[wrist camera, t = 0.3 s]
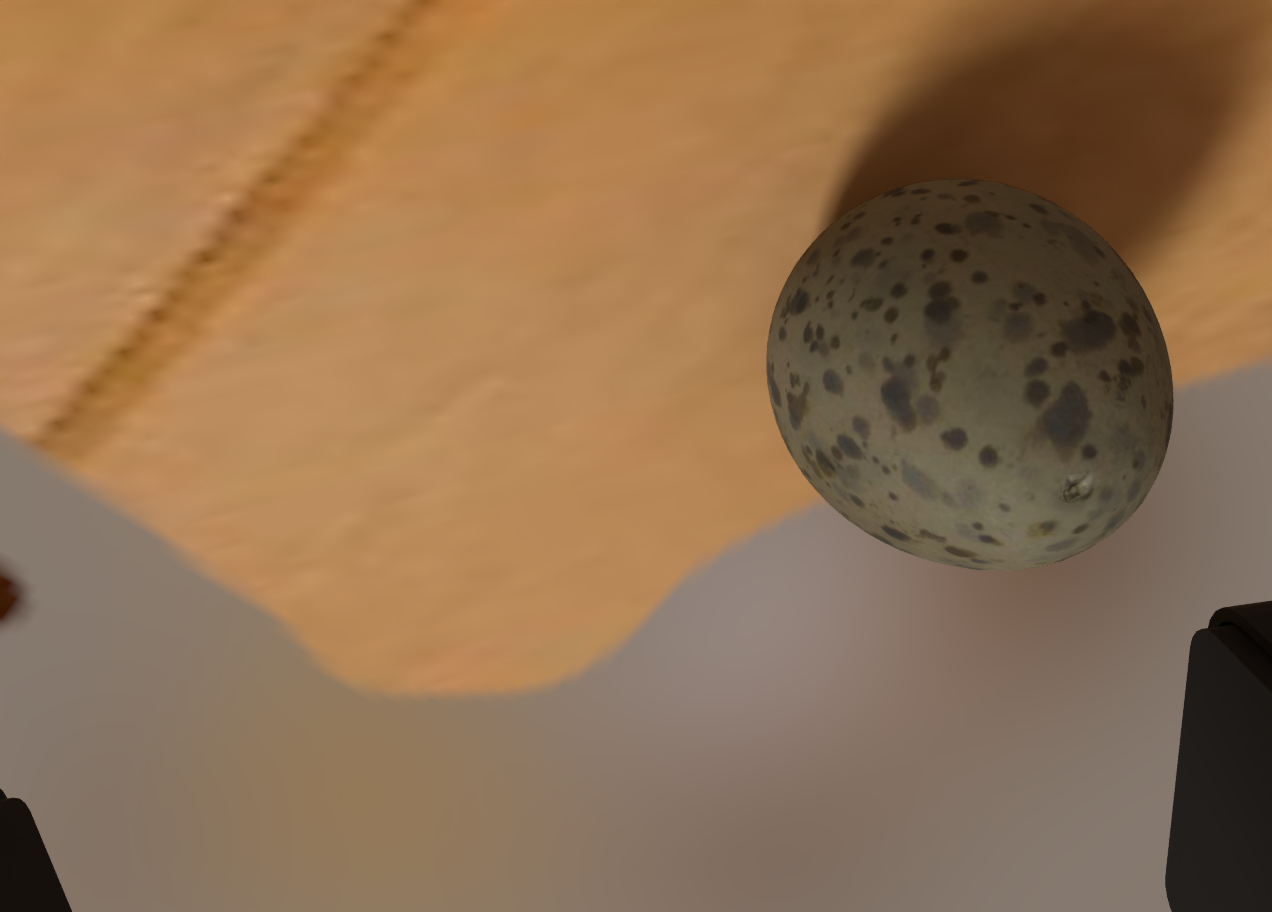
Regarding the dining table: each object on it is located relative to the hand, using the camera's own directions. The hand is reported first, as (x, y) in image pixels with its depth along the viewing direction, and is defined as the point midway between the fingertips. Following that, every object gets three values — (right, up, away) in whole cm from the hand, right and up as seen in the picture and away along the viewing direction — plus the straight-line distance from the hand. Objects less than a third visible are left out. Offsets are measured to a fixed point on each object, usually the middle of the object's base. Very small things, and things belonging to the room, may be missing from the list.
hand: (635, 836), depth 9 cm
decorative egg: (+9, +8, +31) cm, 33 cm away
